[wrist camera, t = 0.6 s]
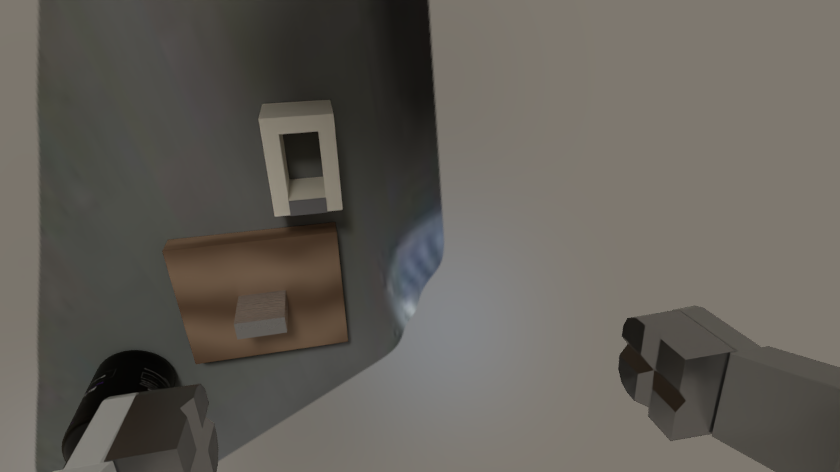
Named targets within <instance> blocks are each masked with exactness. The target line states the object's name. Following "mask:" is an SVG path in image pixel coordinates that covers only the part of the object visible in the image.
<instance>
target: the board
mask: <svg viewBox="0 0 840 472" xmlns="http://www.w3.org/2000/svg"><path fill="white" fill-rule="evenodd" d="M162 252H163V255H164V259H165V262H166V265H167V269H168V272H169V275H170V279H171V282H172V285H173V289H174V292H175V296H176V299H177V302H178V306H179V309H180V312H181V316H182V319H183V323H184V326H185V329H186V333H187V336H188V339H189V343H190V346H191V350H192V353H193V356H194V360H195V363H196V364H200V363H207V362H214V361H220V360H227V359H234V358H241V357H247V356H254V355H261V354H267V353H274V352H281V351H288V350H294V349H301V348H308V347H314V346H321V345H328V344H335V343H341V342H348V335H347V325H346V316H345V306H344V297H343V287H342V278H341V268H340V259H339V249H338V240H337V231H336V224H335V222H331V223H321V224H312V225H303V226H293V227H284V228H274V229H265V230H256V231H246V232H237V233H227V234H218V235H209V236H199V237H190V238H180V239H171V240H168V241H167V243H166V245H165V247H164V249H163V251H162ZM283 290H286V296H287V302H288V324H287V333H280V334H273V335H266V336H259V337H252V338H245V339H238V340H237V336H236V332H235V327H234V320H235V314H236V308H237V303H238V297H239V296H244V295H251V294H259V293H267V292H275V291H283Z"/></svg>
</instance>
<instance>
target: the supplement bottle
mask: <svg viewBox="0 0 840 472" xmlns="http://www.w3.org/2000/svg"><path fill="white" fill-rule="evenodd" d="M174 385H175V374H174V371H173V369H172V367H171V366H170V364H169V363H168V362H167V361H166V360H164V359H163V358H162V357H160V356H158V355H156V354H154V353H151V352H147V351H141V350H129V351H123V352H120V353H117V354H114V355H112V356H110V357H109V358H107V359H106V360H105V361H104V362H102V364H101V365H100V366H99V368H98V369H97V371H96V373H95V375H94V377H93V379H92V381H91V383H90V385H89V387H88V389H87V391H86V393H85V395H84V397H83V399H82V401H81V403H80V405H79V407H78V409H77V411H76V413H75V415H74V417H73V419H72V421H71V423H70V425H69V427H68V429H67V431H66V433H65V436H64V438H63V441H62V454H63V457H64V459H65V461H66V464H67V462H68V460H69V459H70V457H71V455H72V453H73V452H74V450H75V448H76V446H77V445H78V443H79V441H80V439H81V438H82V436H83V434H84V432H85V431H86V429H87V427H88V425H89V424H90V422H91V420H92V418H93V417H94V415H95V413H96V411H97V410H98V408H99V406H100V405H101V403H102V401H103V400H105V399H107V398H108V397H111V396H117V395H124V394H130V393H136V392H137V393H140V392H144V391H151V390H159V389H166V388H174ZM66 464H65V465H66ZM64 467H65V466H64ZM63 469H64V468H63Z"/></svg>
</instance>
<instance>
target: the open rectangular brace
mask: <svg viewBox="0 0 840 472" xmlns="http://www.w3.org/2000/svg"><path fill="white" fill-rule="evenodd" d="M258 120H259V126H260V132H261V138H262V144H263V150H264V155H265V161H266V167H267V173H268V179H269V185H270V191H271V197H272V203H273V209H274V215H275V217H278V216H287V215H291V216H298V215H308V214H318V213H327V211H336V210H343V207H342V197H341V187H340V176H339V166H338V155H337V145H336V135H335V124H334V114H333V110H332V106H331V102H330V100H314V101H298V102H283V103H267V104H262V107H261V111H260V114H259V118H258ZM317 131H318V135H319V144H320V153H321V161H322V170H323V177H312V178H300V179H289V173H288V166H287V160H286V153H285V146H284V139H283V134H290V133H304V132H317Z"/></svg>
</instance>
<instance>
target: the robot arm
mask: <svg viewBox="0 0 840 472" xmlns="http://www.w3.org/2000/svg"><path fill="white" fill-rule="evenodd" d="M622 337H623V338H624V340H625V341H626V342H627V346H626V347H625V349H624V350H623V351H622V352H621V354H620V356H619V368H618V369H619V373H620V378H621V382H622V384H623V386H624V388H625V389H626V391H627V393H628V394H629V395H630V396H631V397H632V399H633V400H634V401H636V402H638V403H640V404H643V405H645V406H647V407H648V408H649V409H648V417H649V418H650V419H651V420H652V421H653V422H654V423H655V424H656V425H657V427H658V428H659V429H660V430H661V431H662V432H663V433H664V434H665V435H666V437H667V438H668V439H669V440H670V441H673V440H679V439H685V438H691V437H697V436H702V435H708V434H712V436H713V437H714V438H716V439H718V440H720V441H721V442H723V443H725V444H727V445H729V446H730V447H732V448H734V449H736V450H737V451H739V452H741V453H743V454H745V455H746V456H748V457H750V458H752V459H754V460H755V461H757V462H759V463H761V464H762V465H764V466H766V467H768V468H770V469H771V470H773V471H775V472H840V367H836V366H833V365H830V364H826V363H823V362H820V361H816V360H813V359H810V358H806V357H803V356H800V355H796V354H793V353H789V352H786V351H783V350H779V349H776V348H773V347H769V346H767V347H760V346H759V345H757V344H756V343H754V342H753V341H752V340H750V339H749V338H747V337H746V336H744V335H743V334H741V333H740V332H738V331H737V330H735V329H734V328H732V327H731V326H729V325H728V324H726V323H725V322H724V321H722V320H721V319H719V318H718V317H716V316H715V315H713V314H712V313H710V312H709V311H707V310H706V309H705V308H702V307H698V306H691V307H685V308H681V309H675V310H672V311H667V312H661V313H656V314H649V315H643V316H637V317H631V318H627V320H626V322H625V324H624V326H623V333H622ZM208 405H209V401H208V397H207V394H206V390H205V388H204V387H203V386H202V385H201V384H196V385H188V386H181V387H174V388H166V389H159V390H151V391H144V392H140V393H137V392H136V393H130V394H124V395H117V396H111V397H108V398H107V399H105V400H103V401H102V403H101V405H100V406H99V408H98V410H97V411H96V413H95V415H94V417H93V418H92V420H91V422H90V424H89V425H88V427H87V429H86V431H85V432H84V434H83V436H82V438H81V439H80V441H79V443H78V445H77V446H76V448H75V450H74V452H73V453H72V455H71V457H70V459H69V460H68V462H67V464H66V465H65V467H64V469H63V470H59V471H53V472H216V471H217V466H218V441H217V433H216V429H215V425H214V423H213V422H212V421H210V420H209V419H208V418H206V413H207V409H208Z"/></svg>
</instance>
